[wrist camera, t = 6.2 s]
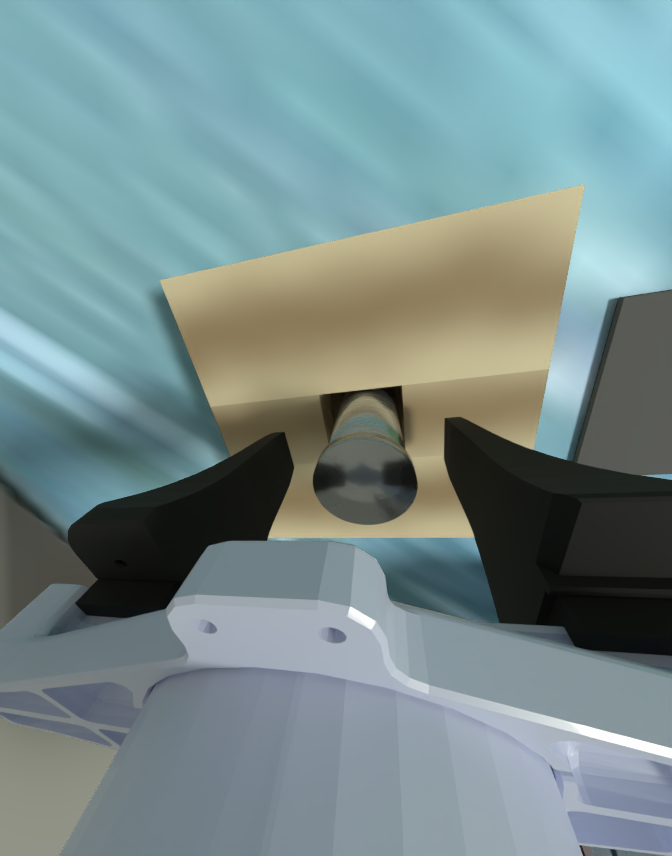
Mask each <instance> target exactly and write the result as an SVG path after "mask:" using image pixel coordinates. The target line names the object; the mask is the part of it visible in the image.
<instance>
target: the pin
mask: <svg viewBox="0 0 672 856" xmlns="http://www.w3.org/2000/svg"><path fill="white" fill-rule="evenodd" d="M313 488H314V492H315V495H316V497H317V499H318V500H319V502H320V503H321V505H322V506H323V507H324V508H325V509H326V510H327V511H329V512H330V513H331V514H333V515H334V516H336V517H338V518H340V519H342V520H344V521H347V522H350V523H354V524H360V525H376V524H382V523H386V522H389V521H391V520H394V519H396V518H397V517H399V516H401V515H402V514H403V513H405V512H406V511H407V510H408V509H409V507H410V506H411V505H412V503H413V502H414V500H415V497H416V494H417V489H418V482H417V476H416V472H415V468H414V464H413V461H412V459H411V457H410V455H409V454H408V453H407V451H406V450H405V449H404V444H403V439H402V434H401V429H400V424H399V419H398V413H397V408H396V403H395V398H394V393H393V390H392V388H391V387H384V388H375V389H366V390H357V391H348V392H344V396H343V399H342V402H341V406H340V409H339V412H338V416H337V419H336V422H335V425H334V429H333V432H332V435H331V439H330V442H329V444H328V445H327V446H326V447H325V449H324V450H323V451H322V453H321V454H320V456H319V458H318V461H317V464H316V467H315V470H314V473H313Z"/></svg>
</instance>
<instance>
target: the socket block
mask: <svg viewBox="0 0 672 856" xmlns="http://www.w3.org/2000/svg"><path fill="white" fill-rule="evenodd" d="M584 187H585V184H584V185H580V186H575V187H571V188H566V189H562V190H558V191H553V192H549V193H544V194H540V195H535V196H531V197H527V198H522V199H518V200H513V201H509V202H504V203H500V204H496V205H491V206H487V207H482V208H478V209H473V210H469V211H465V212H460V213H456V214H451V215H447V216H442V217H438V218H434V219H429V220H425V221H420V222H416V223H411V224H407V225H403V226H398V227H394V228H389V229H385V230H380V231H376V232H372V233H367V234H363V235H358V236H354V237H349V238H345V239H341V240H336V241H332V242H327V243H323V244H318V245H314V246H310V247H305V248H301V249H296V250H292V251H287V252H283V253H278V254H274V255H270V256H265V257H261V258H256V259H252V260H247V261H243V262H239V263H234V264H230V265H225V266H221V267H216V268H212V269H208V270H203V271H199V272H194V273H190V274H185V275H181V276H177V277H172V278H168V279H163V280H160V282H161V285H162V287H163V290H164V292H165V295H166V297H167V300H168V302H169V305H170V307H171V310H172V312H173V315H174V317H175V320H176V322H177V325H178V327H179V330H180V332H181V335H182V337H183V340H184V342H185V345H186V347H187V350H188V352H189V355H190V357H191V360H192V362H193V365H194V367H195V370H196V372H197V375H198V377H199V380H200V382H201V385H202V387H203V389H204V392H205V394H206V397H207V399H208V402H209V404H210V407H211V409H212V412H213V414H214V417H215V419H216V422H217V424H218V427H219V429H220V432H221V434H222V437H223V439H224V442H225V444H226V447H227V449H228V452H229V454H230V457H231V456H232V455H234V454H236V453H238V452H239V451H241V450H243V449H244V448H246V447H248V446H249V445H251V444H253V443H254V442H256V441H258V440H259V439H261V438H263V437H265V436H266V435H268V434H271V433H275V432H285V435H286V439H287V442H288V446H289V449H290V453H291V457H292V460H293V464H294V471H293V475H292V479H291V483H290V486H289V488H288V490H287V493H286V495H285V497H284V500H283V502H282V504H281V506H280V509H279V511H278V513H277V515H276V518H275V520H274V522H273V525H272V527H271V530H270V532H269V536H268V538H474V534H473V531H472V529H471V526H470V524H469V521H468V519H467V517H466V514H465V512H464V510H463V508H462V505H461V503H460V501H459V499H458V497H457V494H456V492H455V490H454V488H453V485H452V483H451V481H450V479H449V476H448V472H447V469H446V465H445V461H444V423H445V418H451V417H462V418H465V419H467V420H469V421H471V422H473V423H474V424H476V425H478V426H480V427H482V428H484V429H486V430H488V431H490V432H492V433H494V434H496V435H498V436H500V437H502V438H505V439H507V440H509V441H511V442H514V443H516V444H519V445H521V446H524V447H526V448H529V449H532V450H533V449H534V444H535V439H536V434H537V429H538V424H539V418H540V413H541V408H542V403H543V398H544V393H545V388H546V382H547V377H548V372H549V367H550V362H551V357H552V352H553V346H554V341H555V336H556V331H557V326H558V321H559V316H560V310H561V305H562V300H563V295H564V290H565V285H566V280H567V274H568V269H569V264H570V259H571V254H572V249H573V244H574V239H575V233H576V228H577V223H578V218H579V213H580V208H581V203H582V197H583V192H584ZM384 387H391V388H392V390H393V393H394V398H395V403H396V408H397V413H398V419H399V424H400V429H401V434H402V439H403V444H404V449H405V450H406V451H407V453H408V454H409V455H410V457H411V459H412V461H413V464H414V468H415V472H416V476H417V482H418V489H417V494H416V497H415V500H414V502H413V503H412V505H411V506H410V507H409V509H408V510H407V511H406V512H405V513H403V514H402V515H401V516H399V517H397V518H396V519H394V520H391V521H389V522H386V523H382V524H376V525H360V524H354V523H350V522H347V521H344V520H342V519H340V518H338V517H336V516H334V515H333V514H331V513H330V512H329V511H327V510H326V509H325V508H324V507H323V506H322V505H321V503H320V502H319V500H318V499H317V497H316V495H315V492H314V488H313V473H314V470H315V467H316V464H317V461H318V458H319V456H320V454H321V453H322V451H323V450H324V449H325V447H326V446H327V445H328V444H329V442H330V439H331V435H332V432H333V429H334V425H335V422H336V419H337V416H338V412H339V409H340V406H341V402H342V399H343V396H344V392H348V391H357V390H366V389H375V388H384Z"/></svg>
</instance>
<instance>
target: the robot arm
mask: <svg viewBox="0 0 672 856" xmlns="http://www.w3.org/2000/svg"><path fill="white" fill-rule="evenodd" d="M444 461H445V465H446V469H447V472H448V476H449V479H450V481H451V483H452V485H453V488H454V490H455V492H456V494H457V497H458V499H459V501H460V503H461V505H462V508H463V510H464V512H465V514H466V517H467V519H468V521H469V524H470V526H471V529H472V531H473V534H474V537H475V540H476V544H477V547H478V550H479V553H480V556H481V559H482V563H483V566H484V569H485V573H486V576H487V579H488V583H489V586H490V590H491V593H492V597H493V600H494V604H495V608H496V611H497V615H498V619H499V622H500V623H488V622H475V621H471V620H467V619H463V618H459V617H455V616H451V615H447V614H443V613H439V612H435V611H431V610H427V609H423V608H419V607H415V606H411V605H407V604H403V603H399V602H395V601H391V600H390V599H389V596H388V593H387V586H386V578H385V574H384V573H383V571H382V569H381V567H380V565H379V563H378V562H377V560H376V559H375V558H374V557H372V556H371V555H369V554H367V553H366V552H364V551H363V550H361V549H359V548H358V547H356V546H354V545H351V544H345V543H340V542H335V541H267V539H268V536H269V532H270V530H271V527H272V525H273V522H274V520H275V518H276V515H277V513H278V511H279V509H280V506H281V504H282V502H283V500H284V497H285V495H286V493H287V490H288V488H289V486H290V483H291V479H292V475H293V471H294V464H293V460H292V457H291V453H290V449H289V446H288V442H287V439H286V435H285V432H275V433H271V434H268V435H266V436H265V437H263V438H261V439H259V440H258V441H256V442H254V443H253V444H251V445H249V446H248V447H246V448H244V449H243V450H241V451H239V452H238V453H236V454H234V455H232V456H231V457H229V458H227V459H225V460H224V461H222V462H220V463H218V464H216V465H214V466H212V467H210V468H208V469H206V470H204V471H201V472H199V473H197V474H195V475H192V476H190V477H187V478H184V479H182V480H179V481H177V482H174V483H172V484H169V485H166V486H163V487H160V488H157V489H153V490H150V491H147V492H143V493H140V494H136V495H132V496H128V497H124V498H120V499H116V500H112V501H108V502H104V503H101V504H99V505H97V506H96V507H94V508H93V509H92V510H90V511H89V512H88V513H86V514H85V515H84V516H83V517H81V518H80V519H79V520H77V521H76V522H75V523H73V524H72V525H71V526H70V528H69V530H68V541H69V544H70V546H71V548H72V549H73V551H74V552H75V553H76V555H77V556H78V557H79V558H80V559H81V560H82V562H83V563H84V564H85V565H86V566H87V567H88V568H89V570H90V571H91V572H92V573H93V574H94V575H95V577H96V578H97V579H98V580H97V581H96V582H95V583H94V584H93V585H92V586H91V587H90V588H87V587H85V586H83V585H78V584H51V585H50V586H49V587H48V588H47V589H46V590H44V591H43V592H42V593H41V594H40V595H39V596H38V597H37V598H36V599H34V600H33V601H32V602H31V603H30V604H29V605H28V606H27V607H26V608H25V609H23V610H22V611H21V612H20V613H19V614H18V615H17V616H16V617H14V619H12V620H11V621H10V622H9V623H8V624H7V625H6V626H5V627H3V628H2V629H1V630H0V717H1V718H3V719H5V720H7V721H8V722H10V723H12V724H14V725H17V726H23V727H27V728H32V729H37V730H42V731H47V732H51V733H55V734H59V735H63V736H67V737H71V738H75V739H79V740H82V741H86V742H90V743H94V744H97V745H101V746H104V747H108V748H111V749H116V750H118V752H117V754H116V755H115V757H114V759H113V761H112V762H111V764H110V766H109V768H108V770H107V771H106V773H105V775H104V777H103V778H102V780H101V782H100V784H99V786H98V787H97V789H96V791H95V793H94V795H93V796H92V798H91V800H90V802H89V804H88V805H87V807H86V809H85V810H84V812H83V814H82V816H81V818H80V820H79V821H78V823H77V825H76V827H75V828H74V830H73V832H72V834H71V835H70V837H69V839H68V841H67V843H66V844H65V846H64V848H63V850H62V851H61V853H60V855H59V856H583V854H582V852H581V849H580V846H579V845H584V846H591V849H592V852H593V855H594V856H672V480H668V479H661V478H654V477H647V476H641V475H634V474H628V473H622V472H617V471H612V470H607V469H602V468H597V467H592V466H588V465H583V464H579V463H575V462H572V461H568V460H564V459H560V458H557V457H553V456H550V455H547V454H544V453H541V452H538V451H535V450H532V449H529V448H526V447H524V446H521V445H519V444H516V443H514V442H511V441H509V440H507V439H505V438H502V437H500V436H498V435H496V434H494V433H492V432H490V431H488V430H486V429H484V428H482V427H480V426H478V425H476V424H474V423H473V422H471V421H469V420H467V419H465V418H462V417H451V418H445V423H444Z"/></svg>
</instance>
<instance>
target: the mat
mask: <svg viewBox="0 0 672 856" xmlns="http://www.w3.org/2000/svg"><path fill="white" fill-rule="evenodd" d="M573 462H575V463H579V464H583V465H588V466H592V467H597V468H602V469H607V470H612V471H617V472H622V473H628V474H634V475H655V474H672V290H667V291H660V292H654V293H647V294H640V295H634V296H627V297H621V298H619V300H618V303H617V307H616V310H615V314H614V317H613V321H612V325H611V328H610V332H609V335H608V339H607V343H606V346H605V350H604V353H603V357H602V361H601V364H600V368H599V371H598V375H597V378H596V382H595V386H594V389H593V393H592V396H591V400H590V404H589V407H588V411H587V414H586V418H585V422H584V425H583V429H582V432H581V436H580V439H579V443H578V447H577V450H576V454H575V457H574V461H573Z"/></svg>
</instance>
